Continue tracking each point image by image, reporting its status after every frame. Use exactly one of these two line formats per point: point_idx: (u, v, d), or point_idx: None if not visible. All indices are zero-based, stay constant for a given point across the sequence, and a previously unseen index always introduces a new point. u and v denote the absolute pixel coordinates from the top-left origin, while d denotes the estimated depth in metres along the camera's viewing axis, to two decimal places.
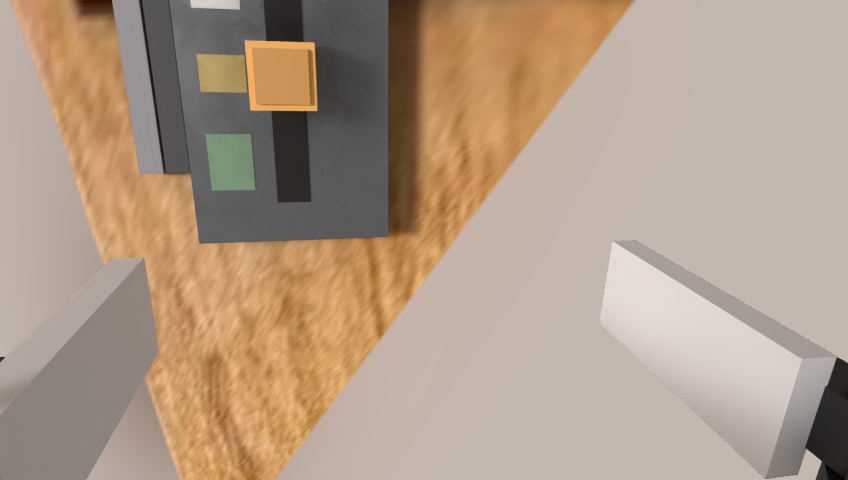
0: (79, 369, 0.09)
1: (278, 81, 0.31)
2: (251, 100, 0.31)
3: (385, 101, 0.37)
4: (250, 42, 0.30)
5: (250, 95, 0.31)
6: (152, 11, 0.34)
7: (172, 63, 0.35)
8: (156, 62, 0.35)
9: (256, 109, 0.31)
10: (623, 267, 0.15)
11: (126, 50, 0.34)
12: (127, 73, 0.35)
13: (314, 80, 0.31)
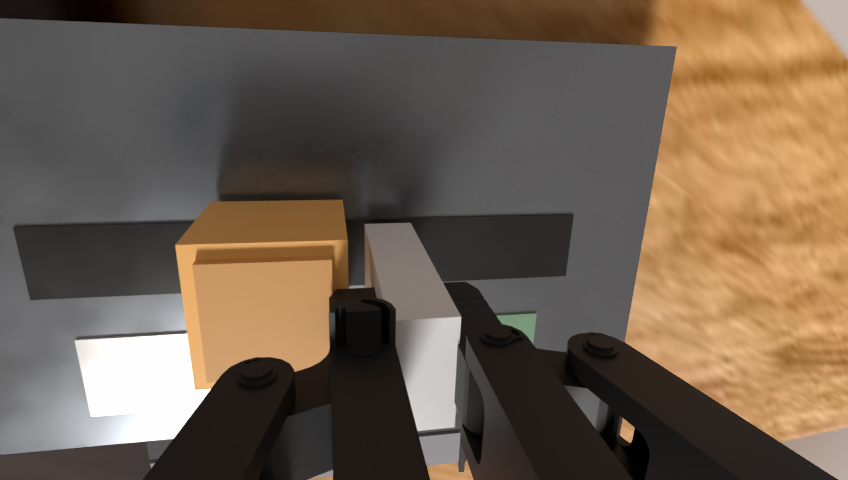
0: None
1: (279, 329, 0.13)
2: None
3: (370, 41, 0.16)
4: (197, 379, 0.13)
5: None
6: None
7: None
8: None
9: None
10: None
11: None
12: None
13: (271, 245, 0.12)
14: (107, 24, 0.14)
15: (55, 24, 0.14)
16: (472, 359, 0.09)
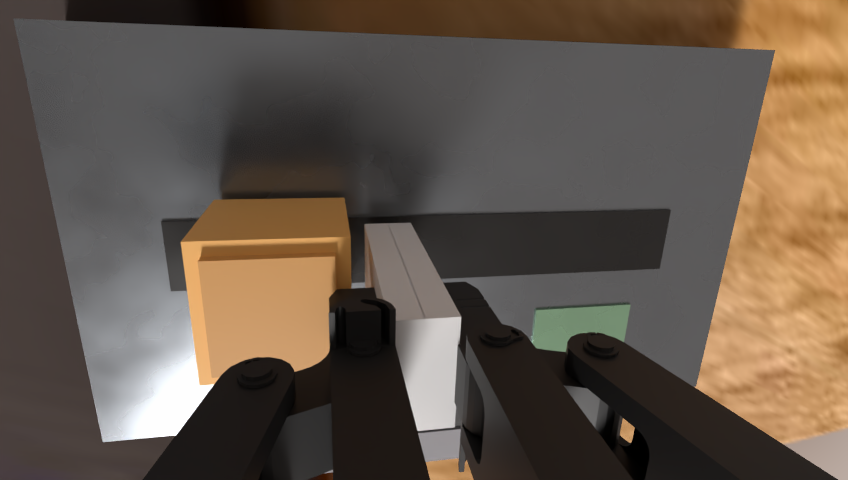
0: None
1: (284, 325, 0.13)
2: None
3: (497, 45, 0.16)
4: (202, 374, 0.13)
5: None
6: None
7: None
8: None
9: None
10: None
11: None
12: (425, 457, 0.23)
13: (275, 242, 0.13)
14: (261, 30, 0.15)
15: (214, 30, 0.15)
16: (472, 360, 0.09)
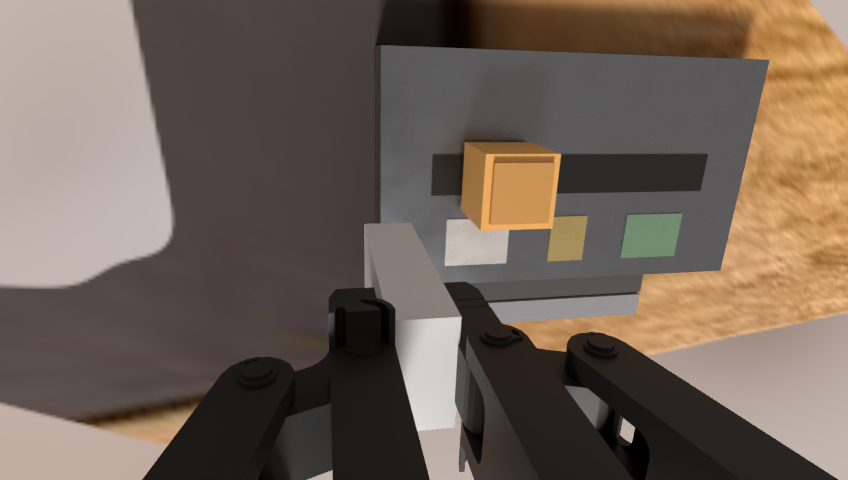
0: None
1: (527, 198, 0.26)
2: (542, 226, 0.27)
3: (616, 57, 0.30)
4: (482, 224, 0.27)
5: (536, 227, 0.27)
6: (498, 292, 0.35)
7: (544, 279, 0.35)
8: (541, 292, 0.36)
9: (552, 222, 0.27)
10: None
11: (529, 316, 0.36)
12: (549, 316, 0.36)
13: (527, 155, 0.26)
14: (497, 50, 0.28)
15: (474, 50, 0.28)
16: (473, 359, 0.09)
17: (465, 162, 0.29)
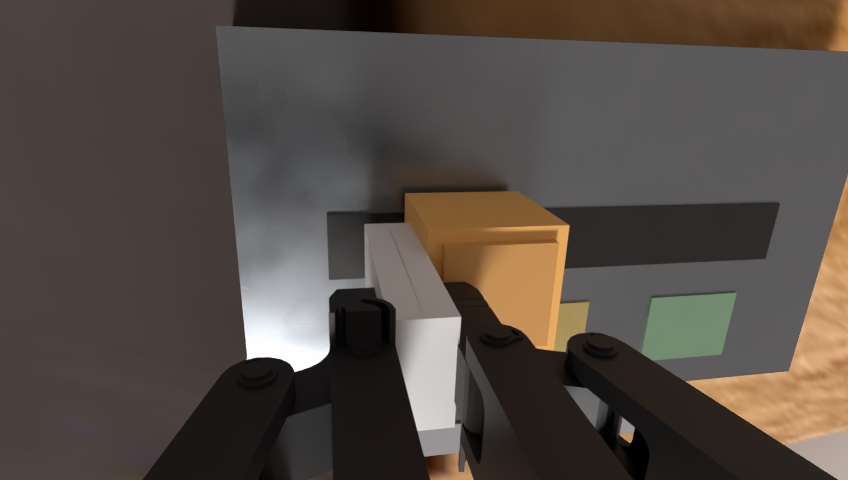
0: None
1: (507, 305, 0.14)
2: None
3: (637, 49, 0.18)
4: None
5: None
6: None
7: None
8: None
9: (553, 341, 0.15)
10: None
11: None
12: None
13: (506, 229, 0.14)
14: (431, 36, 0.16)
15: (389, 36, 0.16)
16: (472, 360, 0.09)
17: None
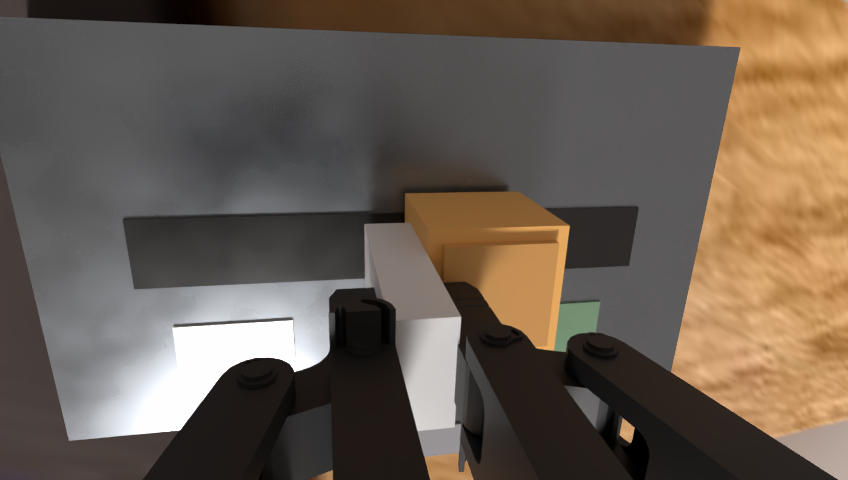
0: None
1: (507, 306, 0.14)
2: None
3: (459, 42, 0.16)
4: None
5: None
6: None
7: None
8: None
9: (553, 341, 0.15)
10: None
11: None
12: None
13: (506, 230, 0.14)
14: (219, 27, 0.15)
15: (172, 27, 0.15)
16: (472, 360, 0.09)
17: None
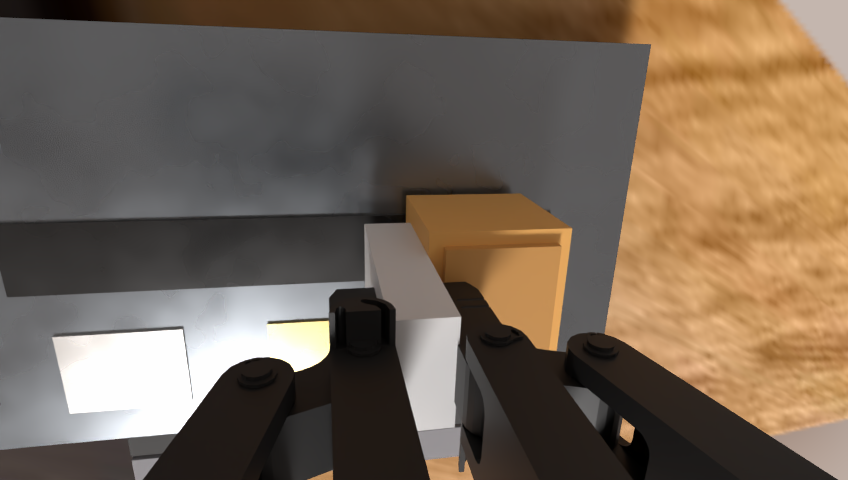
0: None
1: (509, 309, 0.14)
2: None
3: (344, 39, 0.16)
4: None
5: None
6: None
7: None
8: None
9: (555, 345, 0.15)
10: None
11: None
12: None
13: (508, 233, 0.14)
14: (80, 22, 0.14)
15: (28, 22, 0.14)
16: (472, 360, 0.09)
17: None
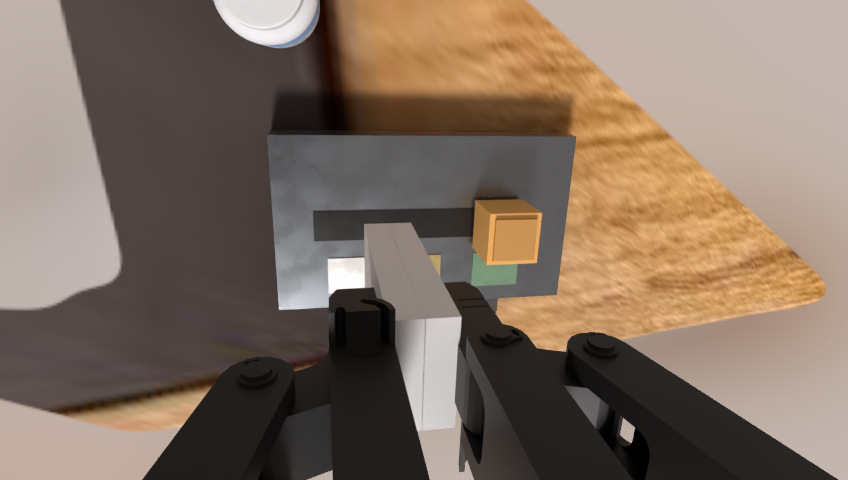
0: None
1: (518, 243, 0.38)
2: (529, 262, 0.39)
3: (451, 138, 0.40)
4: (488, 261, 0.39)
5: (525, 262, 0.39)
6: None
7: None
8: None
9: (536, 258, 0.39)
10: None
11: None
12: None
13: (518, 214, 0.38)
14: (356, 136, 0.38)
15: (339, 136, 0.38)
16: (473, 360, 0.09)
17: (475, 214, 0.41)
